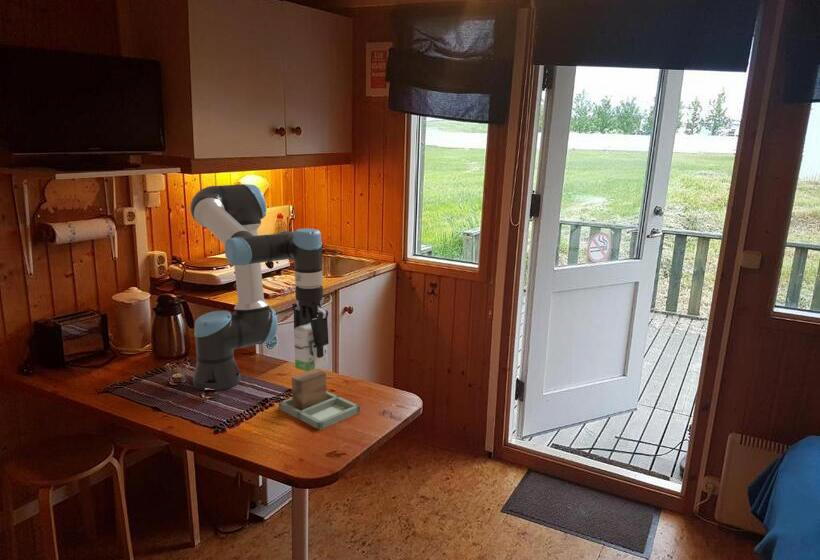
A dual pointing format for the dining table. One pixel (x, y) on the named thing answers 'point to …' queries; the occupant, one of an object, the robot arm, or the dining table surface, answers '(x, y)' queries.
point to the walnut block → (308, 389)
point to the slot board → (322, 411)
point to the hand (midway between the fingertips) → (311, 364)
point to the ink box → (305, 348)
